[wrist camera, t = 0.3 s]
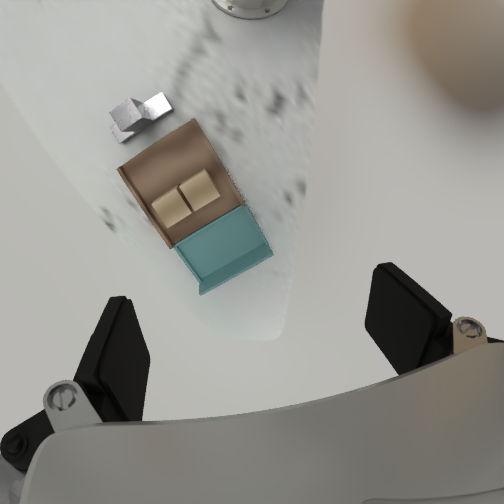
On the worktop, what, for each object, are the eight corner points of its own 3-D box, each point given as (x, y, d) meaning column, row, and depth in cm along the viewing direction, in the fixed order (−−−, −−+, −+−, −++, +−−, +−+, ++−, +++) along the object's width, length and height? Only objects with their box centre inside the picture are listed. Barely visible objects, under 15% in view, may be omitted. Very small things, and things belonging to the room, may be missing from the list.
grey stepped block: (114, 127, 37) (90, 127, 28) (164, 94, 36) (151, 83, 27) (123, 143, 38) (101, 146, 29) (173, 109, 38) (163, 103, 29)
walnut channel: (123, 166, 40) (116, 169, 36) (195, 119, 39) (194, 117, 36) (172, 240, 46) (170, 249, 42) (242, 199, 45) (245, 204, 42)
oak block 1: (156, 197, 41) (151, 204, 37) (178, 183, 40) (175, 188, 37) (170, 219, 42) (167, 228, 39) (192, 205, 42) (191, 213, 38)
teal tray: (173, 242, 46) (170, 254, 41) (243, 201, 45) (247, 209, 40) (200, 280, 49) (200, 295, 45) (267, 242, 48) (273, 254, 44)
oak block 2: (181, 181, 40) (179, 186, 37) (205, 167, 40) (205, 170, 36) (195, 204, 42) (194, 211, 38) (219, 190, 42) (220, 196, 38)
